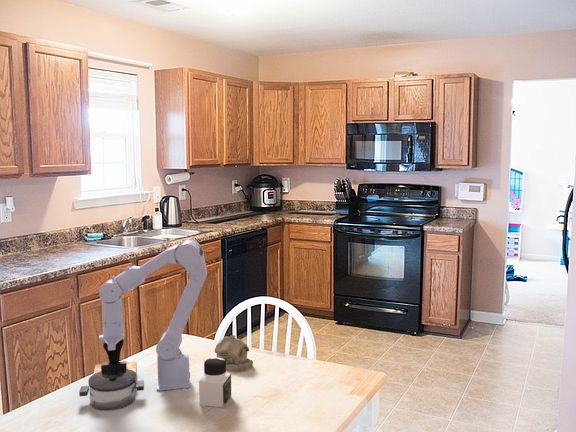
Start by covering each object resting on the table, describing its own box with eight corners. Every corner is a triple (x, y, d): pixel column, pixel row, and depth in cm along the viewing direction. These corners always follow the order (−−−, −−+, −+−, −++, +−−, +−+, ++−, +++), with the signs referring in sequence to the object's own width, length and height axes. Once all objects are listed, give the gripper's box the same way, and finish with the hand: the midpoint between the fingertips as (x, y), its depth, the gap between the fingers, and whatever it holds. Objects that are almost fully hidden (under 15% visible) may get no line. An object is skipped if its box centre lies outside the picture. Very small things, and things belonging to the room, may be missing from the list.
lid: (137, 369, 164) (136, 360, 164) (135, 388, 152) (135, 377, 152) (91, 373, 161) (90, 364, 161) (85, 393, 149) (85, 382, 149)
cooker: (145, 374, 173) (144, 360, 172) (143, 406, 151) (143, 391, 151) (87, 379, 169) (87, 365, 168) (78, 413, 147) (77, 397, 147)
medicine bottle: (223, 408, 151) (223, 365, 149) (199, 405, 152) (198, 363, 151) (231, 396, 158) (231, 356, 156) (207, 394, 159) (207, 354, 158)
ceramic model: (205, 365, 181) (205, 335, 179) (229, 355, 190) (228, 326, 188) (238, 375, 172) (237, 344, 171) (261, 364, 181) (260, 335, 180)
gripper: (100, 314, 168) (102, 357, 170) (95, 329, 154) (97, 376, 156) (124, 313, 170) (126, 355, 171) (122, 327, 156) (123, 373, 157)
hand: (114, 365), depth 164 cm, fingers closed
